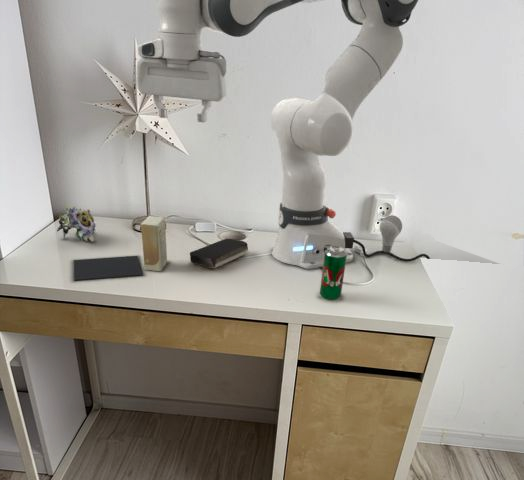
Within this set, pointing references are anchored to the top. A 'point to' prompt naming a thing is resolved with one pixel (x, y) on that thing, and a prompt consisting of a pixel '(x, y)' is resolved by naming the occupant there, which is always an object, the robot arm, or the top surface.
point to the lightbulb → (390, 231)
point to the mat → (106, 268)
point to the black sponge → (219, 253)
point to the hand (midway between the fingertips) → (182, 119)
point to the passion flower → (78, 223)
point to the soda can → (333, 272)
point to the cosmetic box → (154, 243)
